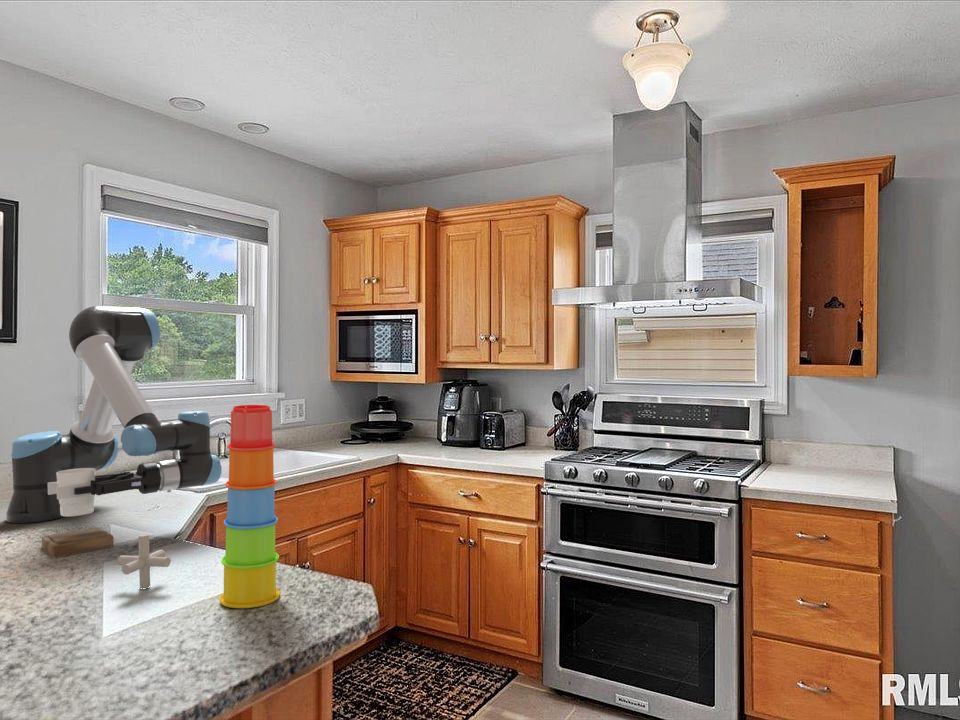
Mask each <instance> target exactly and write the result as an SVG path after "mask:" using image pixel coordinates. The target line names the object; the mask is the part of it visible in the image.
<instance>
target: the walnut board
mask: <svg viewBox="0 0 960 720" xmlns="http://www.w3.org/2000/svg"><path fill="white" fill-rule="evenodd" d="M114 545H115V544H114V535H113V534H111V533H109V532H107V531H106V530H104V529H103V528H100V527H99V526H97V527H90V528H84V529H78V530H72V531H67V532H61V533H56V534H50V535H46V536H45V535H44V536H41V548H42V549H43V550H44V551H46V553H48V554H49V555H51V556H52V557H53V558H55V559H56V558H60V557H64V556H65V557H66V556H70V555H75V554H81V553H85V552H92V551H98V550H102V549H108V548H113V547H114Z"/></svg>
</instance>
